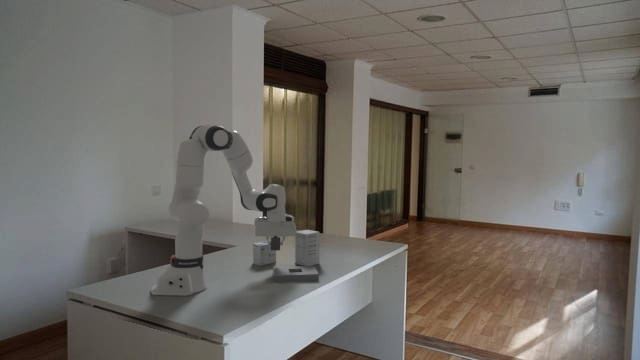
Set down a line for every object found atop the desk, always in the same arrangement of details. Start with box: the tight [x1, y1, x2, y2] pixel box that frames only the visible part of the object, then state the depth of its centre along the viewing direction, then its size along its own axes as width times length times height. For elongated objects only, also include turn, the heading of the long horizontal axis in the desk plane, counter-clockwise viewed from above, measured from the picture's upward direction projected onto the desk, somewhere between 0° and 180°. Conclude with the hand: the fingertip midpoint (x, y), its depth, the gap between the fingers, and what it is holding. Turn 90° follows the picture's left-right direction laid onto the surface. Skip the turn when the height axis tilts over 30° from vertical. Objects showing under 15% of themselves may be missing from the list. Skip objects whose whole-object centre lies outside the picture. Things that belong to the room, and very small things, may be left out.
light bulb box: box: [252, 240, 277, 267], centre depth 232 cm, size 11×7×11 cm, turn 134°
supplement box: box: [294, 229, 321, 266], centre depth 231 cm, size 10×9×17 cm
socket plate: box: [272, 265, 320, 283], centre depth 209 cm, size 20×14×3 cm
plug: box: [270, 236, 281, 251], centre depth 218 cm, size 4×4×8 cm
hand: (275, 245), depth 218 cm, fingers closed on plug, 4 cm apart
